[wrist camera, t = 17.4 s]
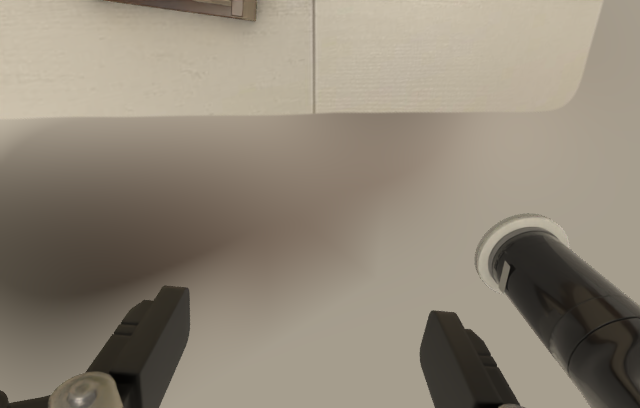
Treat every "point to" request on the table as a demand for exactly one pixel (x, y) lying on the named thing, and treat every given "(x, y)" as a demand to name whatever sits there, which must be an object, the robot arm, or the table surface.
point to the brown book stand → (204, 7)
